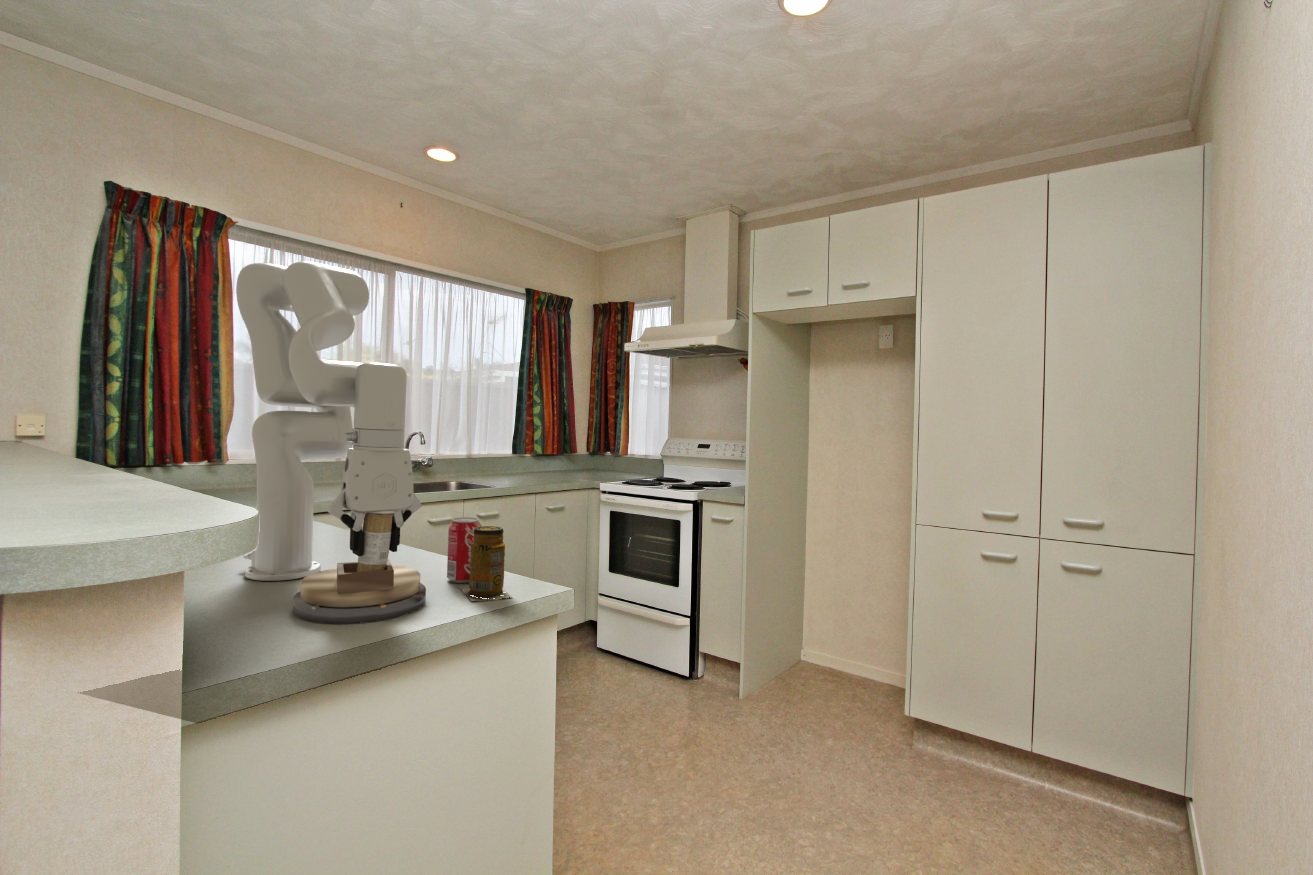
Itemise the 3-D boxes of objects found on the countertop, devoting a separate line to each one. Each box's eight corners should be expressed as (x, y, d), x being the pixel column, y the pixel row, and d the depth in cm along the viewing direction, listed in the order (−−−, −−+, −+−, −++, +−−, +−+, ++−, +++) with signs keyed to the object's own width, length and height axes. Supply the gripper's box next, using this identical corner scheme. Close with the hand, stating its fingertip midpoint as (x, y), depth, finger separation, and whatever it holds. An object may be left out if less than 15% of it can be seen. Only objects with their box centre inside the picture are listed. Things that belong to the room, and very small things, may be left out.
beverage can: (484, 577, 123) (487, 517, 123) (472, 585, 117) (474, 522, 117) (455, 575, 124) (457, 515, 123) (441, 583, 118) (443, 520, 117)
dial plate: (262, 613, 96) (262, 598, 96) (358, 582, 115) (359, 570, 115) (366, 631, 90) (366, 616, 90) (449, 595, 110) (450, 583, 110)
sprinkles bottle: (372, 578, 102) (383, 497, 103) (391, 583, 100) (402, 501, 100) (347, 581, 98) (359, 498, 99) (366, 587, 96) (378, 502, 96)
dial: (302, 581, 106) (302, 551, 106) (412, 573, 115) (413, 545, 115) (298, 612, 91) (299, 577, 91) (427, 600, 99) (428, 568, 99)
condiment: (500, 586, 117) (502, 524, 117) (512, 598, 110) (514, 532, 110) (461, 589, 114) (463, 525, 114) (470, 602, 107) (473, 534, 106)
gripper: (329, 441, 90) (325, 564, 91) (439, 442, 102) (435, 550, 103) (314, 438, 96) (310, 554, 96) (420, 439, 108) (416, 542, 108)
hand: (375, 551), depth 100 cm, fingers closed on sprinkles bottle, 4 cm apart
